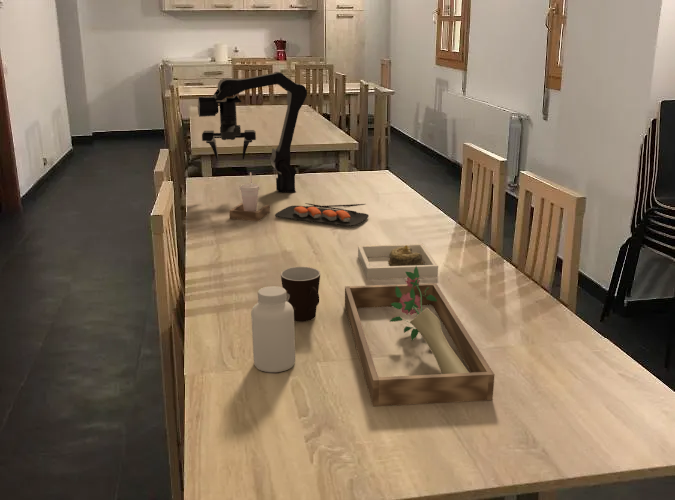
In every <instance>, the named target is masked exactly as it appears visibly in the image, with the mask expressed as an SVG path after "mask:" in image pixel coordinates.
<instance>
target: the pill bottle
mask: <svg viewBox="0 0 675 500" xmlns="http://www.w3.org/2000/svg"><path fill="white" fill-rule="evenodd" d="M286 298H287V295H286V290H285V289H284V288H283V287H282V286H275V285H272V286H264V287H262V288H259V290H258V291H257V302H256V303H255V304H254V305H253V307H252V308H251V312H250V316H251V318H250V319H251V333H252V335H251V336H252V353H253V356H252V357H253V364H254V367H255V368H256V369H257V370H259V371H260V372H261V371H262V372H264V373H280V372H284V371H287V370H290V369H291V368H293V367H294V365H295V362H296V344H295V343H296V338H295V335H296V334H295V321H294V310H293V307H292V305H291V304H290V303H289V302H287V301H286Z"/></svg>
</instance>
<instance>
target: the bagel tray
mask: <svg viewBox="0 0 675 500" xmlns="http://www.w3.org/2000/svg"><path fill="white" fill-rule="evenodd" d="M405 245H407V247H411V249H412V251H411V252H412V253H415V252H417V253H420V254H421V255H422V258H423V259H422V260H423V261H424V262H425V263H424V265H414V266H390V265H388V266H387V265H385V266H371V265H370V262H369V259H368V258H376V257H377V258H380V257H382V258H383V257H389V254H390V253H391V251H392V250H394V249H396V248H399V247H405ZM357 257H358V260H359V263H360V265H361V268H362V270H363V273H364V275H365V278H366V280H367V281H368V280H391V279H392V280H393V279H394V280H398V279H407V278H408V276H407V274H406V272H412V273H414V269H415V267H416V266H417V269H418V272H419V279H424V278H438V277H439V276H438V275H439V265H438V264H437V262H436V260H435V259H434V257H433V256H432V254H431V253H430V252H429V250H428V249H427V248H426V246H425V245H424V244H423V243H408V244H407V243H405V244H402V243H400V244H377V245H376V244H374V245H371V244H369V245H357Z"/></svg>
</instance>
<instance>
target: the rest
mask: <svg viewBox="0 0 675 500" xmlns="http://www.w3.org/2000/svg"><path fill="white" fill-rule="evenodd" d="M270 207H271V206H270V204H266V205H264V206H262V207H261V208H260V209H258V210H257V211H256V212H253V211H244V207H243V202H241V203H239V204H237V205H236V206H234V207H232V208H231V209H230V210H229V211H228V212H229V220H236V221H237V220H238V221H239V220H240V221H250V222H251V221H252V222H260V221H261V220H263V219H264V218H265V217H267V216H268V215H269V214H270V213H271V208H270Z"/></svg>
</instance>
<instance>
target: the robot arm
mask: <svg viewBox="0 0 675 500" xmlns="http://www.w3.org/2000/svg"><path fill="white" fill-rule="evenodd" d="M274 85H278V86H279V87H281V88H282V89H284V90H285V91H286V103H287V106H286V107H287V108H286V112H285V117H284V120H283V121H284V122H283V124H282V125H283V126H282V129H281V133H280V138H279V142H278V145H277V147H276V148H272V150H271V155H270V157H269V159H270V162H271V163H270V164H271V165H272V167H273V168H274V170H276V172H277V177H276V178H275V183H276V184H275V185H276V187H275V189H276V191H277V193H296V192H297V191H296V173H297V170H296V169H295V168H294V167H293V166H292V165H291V160H292V159H291V158H292V157H291V156H292V155H291V146H292V141H293V138H294V133H295V129H296V124H297V120H298V116H299V112H300V110H301V108H302V107H303V105H304V103H305V101H306V99H307V95H308V90H307V87H306V86H304V85H303V84H301V83H297V82H294V81H293V80H291V79H290V78H288V77H287V76H285V75H284V74H283V73H282V72H279V71H275V72H273V73H268V74H267V73H266V74H261V75H256V76H250V77H246V78H225V77H224V78H222V79H220V80H219V81H218V84H217V89H216V90H215V92H214V94H213V95H212V96H198V100H197V101H198V102H197V115H198V117H200V118H202V117H216V114H219V118H220V119H219V122H220V123H219V124H220V126H219V132H215V131H214V130H203V132H202V133H201V141H202V142H205V143H206V144H209V145H210V147H211V149H212V151H213V153H214V156H215V159H216V160H218V161H219V154H218V149H217V148H218V147H217V141H216V139H220V140H222V141H226V140H227V141H228V140H231V141H234V140H236V139H243V145H242V146H243V147H242V160H245V157H246V152H247V149H248V146H249V144H250V143H253V141H256V140H257V137H256V135H257V134H256V130H255V129H244V132H243V131H241V130H242V129H241V125H239V124H237V123H238V119H237V103H242V100H241V99H240V98H239V97H238V94H240V93H243V92H244V91H247V90H253V89H257V88H264V87H267V86H268V87H269V86H274Z"/></svg>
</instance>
